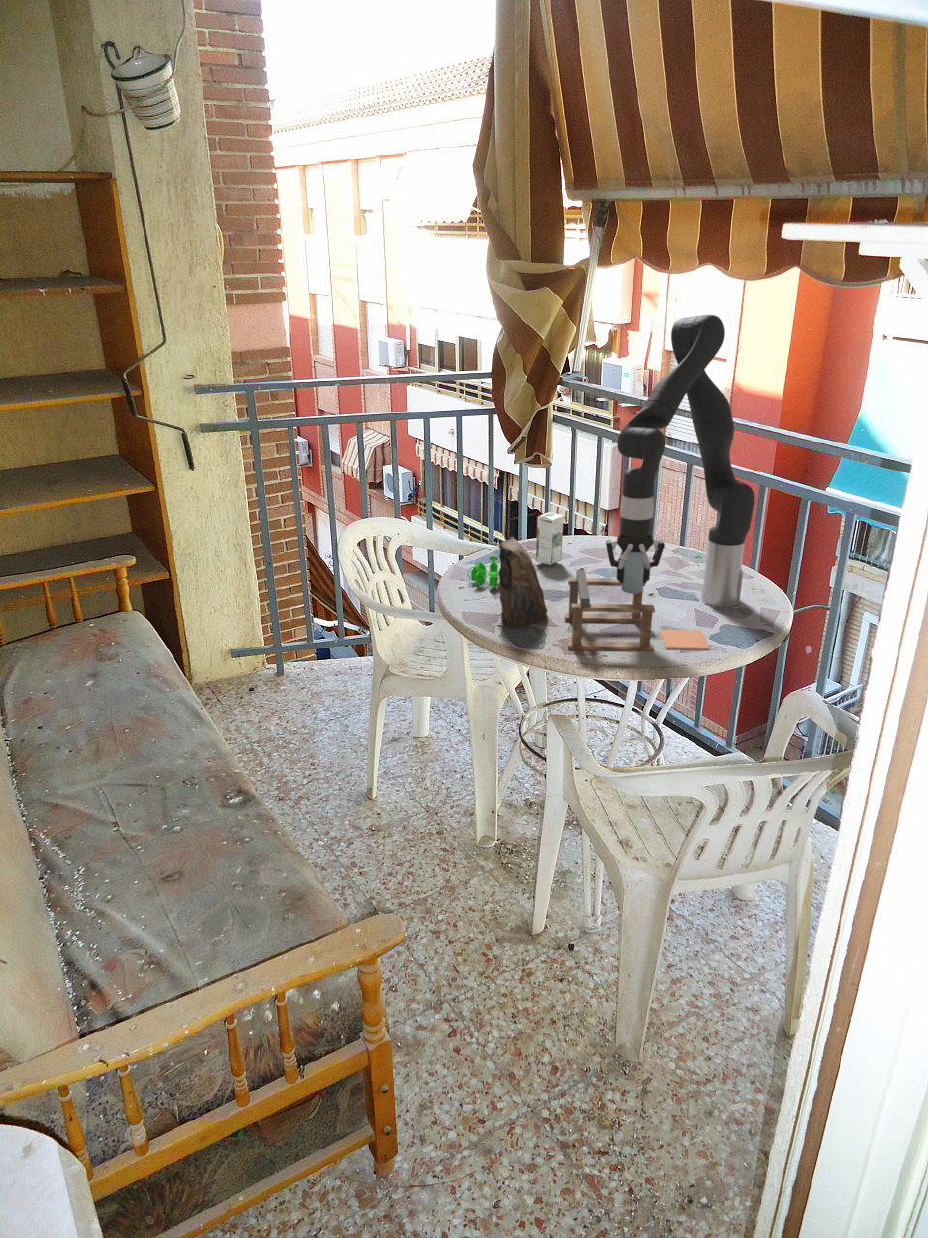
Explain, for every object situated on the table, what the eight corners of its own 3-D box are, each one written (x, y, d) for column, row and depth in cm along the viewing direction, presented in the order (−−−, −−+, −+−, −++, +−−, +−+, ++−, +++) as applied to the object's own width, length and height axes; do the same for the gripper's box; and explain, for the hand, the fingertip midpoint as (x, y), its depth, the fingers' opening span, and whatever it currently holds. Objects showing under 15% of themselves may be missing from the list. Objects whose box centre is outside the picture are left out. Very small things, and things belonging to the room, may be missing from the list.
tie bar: (584, 577, 215) (584, 570, 214) (589, 606, 197) (589, 598, 196) (576, 577, 215) (576, 569, 214) (580, 606, 197) (581, 598, 196)
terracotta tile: (700, 633, 209) (701, 630, 209) (708, 651, 200) (709, 647, 200) (659, 632, 210) (659, 629, 210) (665, 650, 201) (666, 647, 201)
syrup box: (546, 556, 263) (547, 511, 257) (562, 560, 260) (563, 514, 254) (535, 561, 259) (536, 515, 253) (551, 565, 256) (553, 519, 250)
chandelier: (519, 571, 252) (519, 549, 249) (520, 590, 238) (520, 566, 235) (468, 571, 252) (468, 549, 250) (466, 589, 239) (466, 566, 236)
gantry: (642, 618, 219) (646, 578, 214) (653, 651, 200) (657, 609, 196) (564, 616, 220) (566, 577, 216) (568, 649, 202) (570, 607, 197)
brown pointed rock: (513, 631, 212) (514, 554, 204) (480, 615, 221) (480, 542, 213) (549, 618, 219) (552, 544, 211) (517, 604, 228) (518, 532, 220)
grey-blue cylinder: (641, 585, 207) (643, 546, 203) (644, 593, 203) (646, 553, 199) (620, 585, 207) (622, 546, 203) (622, 593, 203) (625, 553, 199)
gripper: (665, 509, 200) (660, 576, 207) (604, 509, 201) (601, 576, 208) (670, 518, 194) (665, 588, 200) (607, 518, 194) (603, 587, 201)
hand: (632, 581), depth 204 cm, fingers closed on grey-blue cylinder, 5 cm apart
